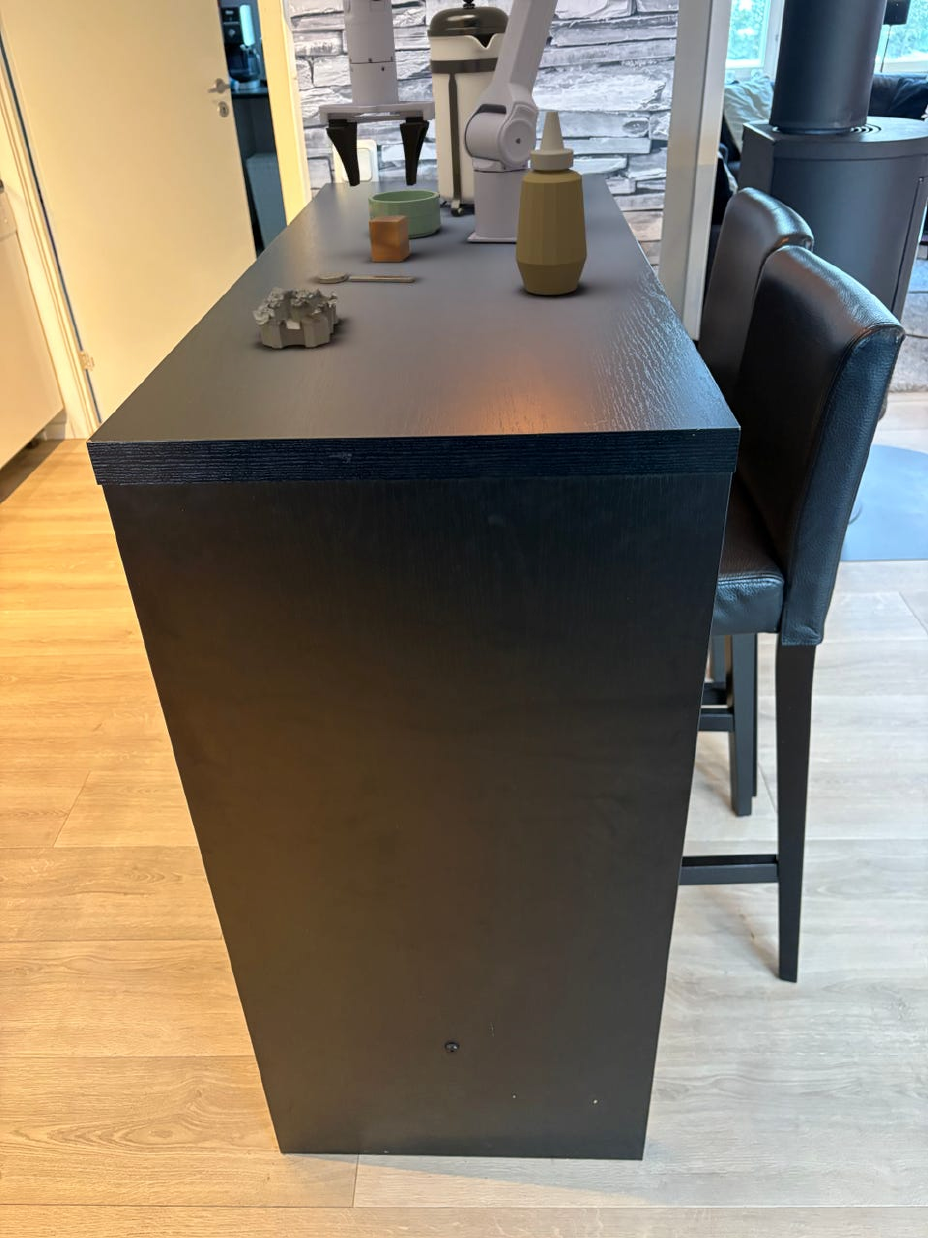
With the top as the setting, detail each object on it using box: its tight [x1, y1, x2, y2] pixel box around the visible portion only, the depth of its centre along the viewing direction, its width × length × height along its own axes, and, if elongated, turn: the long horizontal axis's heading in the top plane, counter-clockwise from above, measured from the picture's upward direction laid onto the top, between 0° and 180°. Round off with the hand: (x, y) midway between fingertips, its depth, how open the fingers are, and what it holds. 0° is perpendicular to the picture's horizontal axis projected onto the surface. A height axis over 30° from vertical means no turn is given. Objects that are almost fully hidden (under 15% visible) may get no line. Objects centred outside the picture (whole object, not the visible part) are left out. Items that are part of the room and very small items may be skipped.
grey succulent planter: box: [252, 286, 339, 349], centre depth 95 cm, size 11×8×4 cm
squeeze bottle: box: [515, 110, 588, 296], centre depth 102 cm, size 8×8×18 cm
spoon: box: [316, 270, 415, 284], centre depth 114 cm, size 12×4×1 cm, turn 76°
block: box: [368, 215, 411, 263], centre depth 122 cm, size 4×4×5 cm
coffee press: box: [426, 0, 509, 217], centre depth 144 cm, size 17×16×30 cm
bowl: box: [368, 189, 442, 239], centre depth 136 cm, size 10×10×5 cm
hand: (383, 184), depth 120 cm, fingers open, 7 cm apart
